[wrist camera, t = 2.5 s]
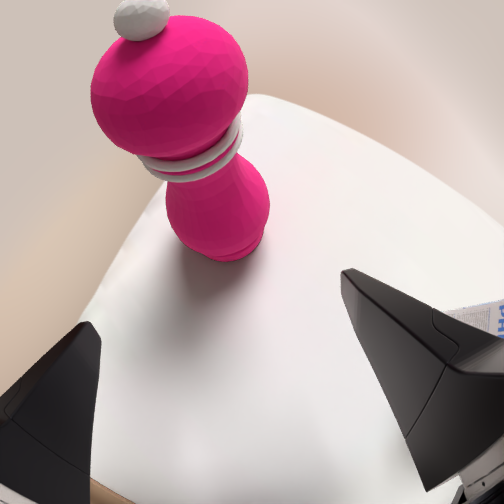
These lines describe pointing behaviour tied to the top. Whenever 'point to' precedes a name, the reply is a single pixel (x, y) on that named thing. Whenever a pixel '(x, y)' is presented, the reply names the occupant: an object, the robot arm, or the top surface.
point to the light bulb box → (482, 316)
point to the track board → (105, 495)
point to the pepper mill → (184, 123)
